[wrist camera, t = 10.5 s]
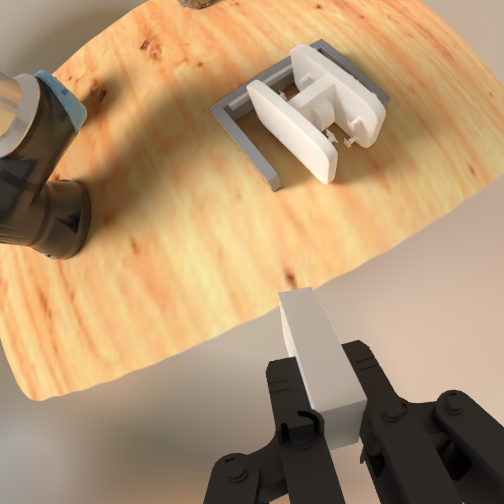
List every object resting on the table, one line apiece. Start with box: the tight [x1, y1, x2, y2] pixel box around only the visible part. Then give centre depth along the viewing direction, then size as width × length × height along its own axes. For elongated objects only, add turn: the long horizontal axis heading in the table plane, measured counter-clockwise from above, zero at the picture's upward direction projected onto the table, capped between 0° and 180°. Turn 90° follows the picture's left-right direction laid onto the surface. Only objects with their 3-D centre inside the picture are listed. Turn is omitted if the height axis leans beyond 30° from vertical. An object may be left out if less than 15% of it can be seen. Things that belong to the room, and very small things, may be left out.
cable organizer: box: [246, 43, 386, 185], centre depth 35 cm, size 15×11×12 cm
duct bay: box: [209, 39, 390, 192], centre depth 39 cm, size 14×21×5 cm
